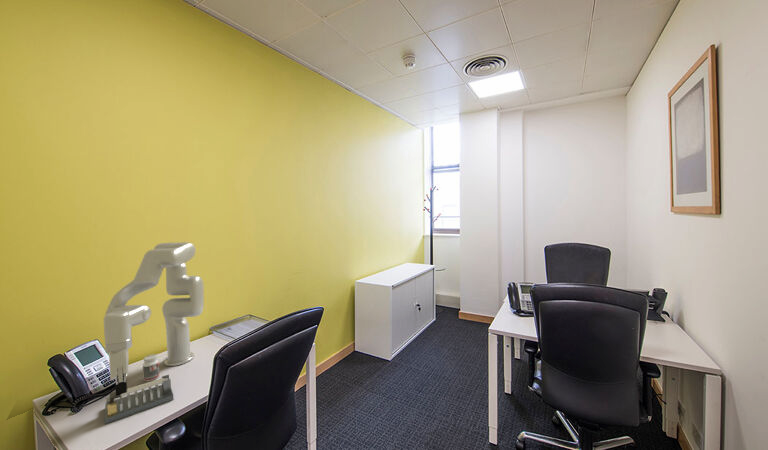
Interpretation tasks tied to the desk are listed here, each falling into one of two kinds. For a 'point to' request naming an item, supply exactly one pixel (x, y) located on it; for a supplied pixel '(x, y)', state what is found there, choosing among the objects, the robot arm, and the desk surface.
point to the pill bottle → (150, 368)
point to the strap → (138, 388)
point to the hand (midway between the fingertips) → (121, 392)
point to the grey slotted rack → (138, 401)
